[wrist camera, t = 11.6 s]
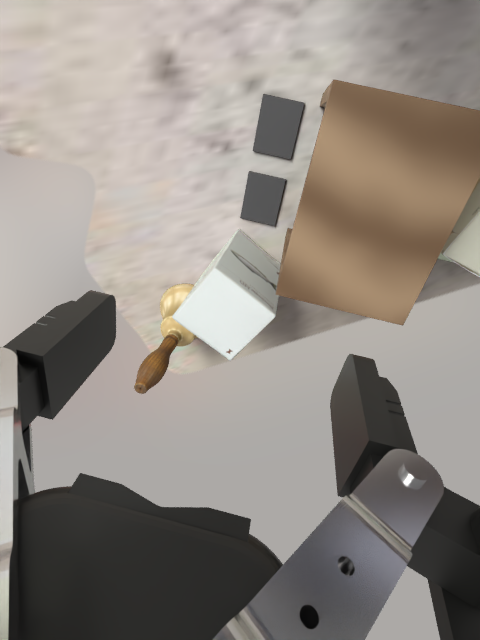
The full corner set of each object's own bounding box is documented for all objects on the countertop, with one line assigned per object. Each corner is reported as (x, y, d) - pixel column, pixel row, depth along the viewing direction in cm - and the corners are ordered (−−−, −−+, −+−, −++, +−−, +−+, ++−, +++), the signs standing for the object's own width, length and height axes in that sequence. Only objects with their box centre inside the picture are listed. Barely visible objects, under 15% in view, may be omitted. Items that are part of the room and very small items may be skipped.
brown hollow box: (322, 94, 33) (333, 79, 20) (428, 116, 32) (510, 117, 19) (285, 236, 40) (275, 294, 27) (371, 256, 40) (402, 325, 27)
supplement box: (286, 266, 42) (279, 318, 31) (247, 305, 45) (229, 364, 35) (239, 225, 40) (214, 265, 30) (202, 269, 44) (169, 319, 33)
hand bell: (169, 338, 50) (119, 421, 37) (153, 286, 46) (89, 357, 33) (225, 335, 48) (193, 420, 35) (212, 280, 44) (171, 352, 31)
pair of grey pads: (263, 94, 33) (263, 93, 33) (304, 102, 33) (304, 102, 33) (240, 217, 40) (240, 218, 39) (274, 225, 40) (274, 225, 39)
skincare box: (446, 157, 34) (509, 176, 23) (483, 180, 34) (561, 209, 24) (402, 215, 37) (439, 254, 26) (436, 236, 37) (486, 282, 27)
